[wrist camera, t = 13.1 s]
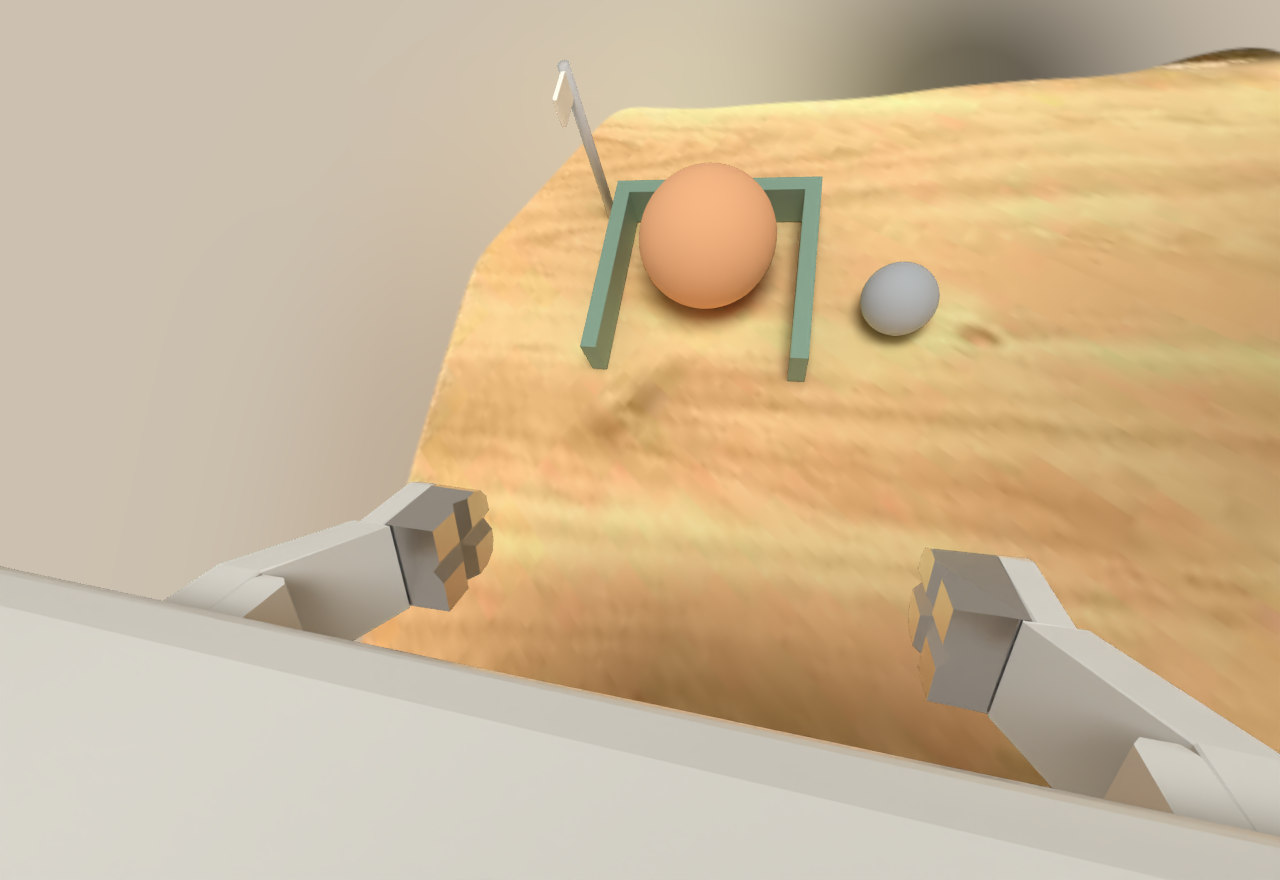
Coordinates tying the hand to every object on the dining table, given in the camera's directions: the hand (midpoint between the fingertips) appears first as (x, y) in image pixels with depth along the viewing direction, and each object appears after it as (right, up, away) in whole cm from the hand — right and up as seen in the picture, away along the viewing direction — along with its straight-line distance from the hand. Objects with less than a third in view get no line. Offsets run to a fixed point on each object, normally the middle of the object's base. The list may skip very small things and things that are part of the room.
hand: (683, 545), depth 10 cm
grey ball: (+17, +12, +28) cm, 35 cm away
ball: (+4, +17, +30) cm, 34 cm away
